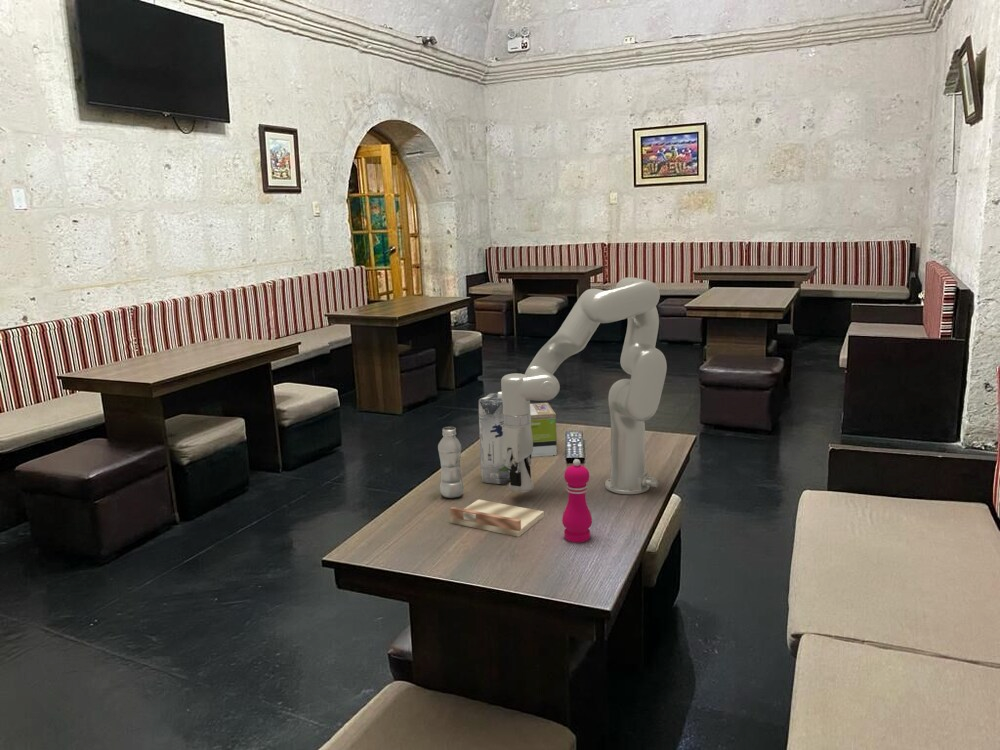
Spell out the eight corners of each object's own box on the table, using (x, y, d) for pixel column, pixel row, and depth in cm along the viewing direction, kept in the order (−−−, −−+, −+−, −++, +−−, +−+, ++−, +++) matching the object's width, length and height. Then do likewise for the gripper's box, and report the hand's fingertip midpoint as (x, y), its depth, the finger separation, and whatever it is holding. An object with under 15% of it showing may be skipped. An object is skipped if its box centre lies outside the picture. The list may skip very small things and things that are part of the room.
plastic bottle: (460, 501, 209) (458, 432, 205) (437, 500, 210) (434, 431, 206) (466, 492, 215) (463, 425, 211) (443, 491, 216) (440, 425, 212)
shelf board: (543, 516, 196) (543, 502, 195) (518, 537, 184) (517, 522, 183) (478, 504, 206) (478, 490, 205) (450, 523, 194) (449, 508, 193)
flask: (537, 484, 211) (535, 450, 208) (529, 493, 204) (527, 459, 202) (512, 482, 213) (510, 449, 211) (504, 492, 206) (502, 457, 204)
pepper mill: (572, 546, 178) (572, 466, 174) (556, 535, 185) (555, 457, 181) (597, 539, 182) (597, 460, 178) (581, 529, 188) (580, 452, 184)
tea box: (521, 444, 260) (520, 403, 257) (549, 443, 261) (549, 401, 258) (527, 458, 245) (526, 414, 242) (557, 456, 246) (557, 412, 243)
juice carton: (478, 483, 222) (475, 395, 217) (491, 472, 232) (489, 387, 226) (506, 486, 219) (503, 397, 213) (518, 475, 229) (516, 389, 223)
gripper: (519, 410, 213) (523, 470, 217) (489, 426, 199) (493, 491, 203) (543, 412, 210) (546, 473, 213) (514, 428, 195) (518, 494, 199)
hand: (520, 481), depth 208 cm, fingers closed on flask, 4 cm apart
